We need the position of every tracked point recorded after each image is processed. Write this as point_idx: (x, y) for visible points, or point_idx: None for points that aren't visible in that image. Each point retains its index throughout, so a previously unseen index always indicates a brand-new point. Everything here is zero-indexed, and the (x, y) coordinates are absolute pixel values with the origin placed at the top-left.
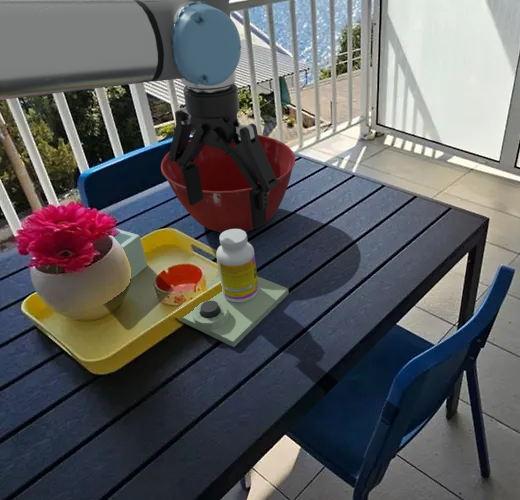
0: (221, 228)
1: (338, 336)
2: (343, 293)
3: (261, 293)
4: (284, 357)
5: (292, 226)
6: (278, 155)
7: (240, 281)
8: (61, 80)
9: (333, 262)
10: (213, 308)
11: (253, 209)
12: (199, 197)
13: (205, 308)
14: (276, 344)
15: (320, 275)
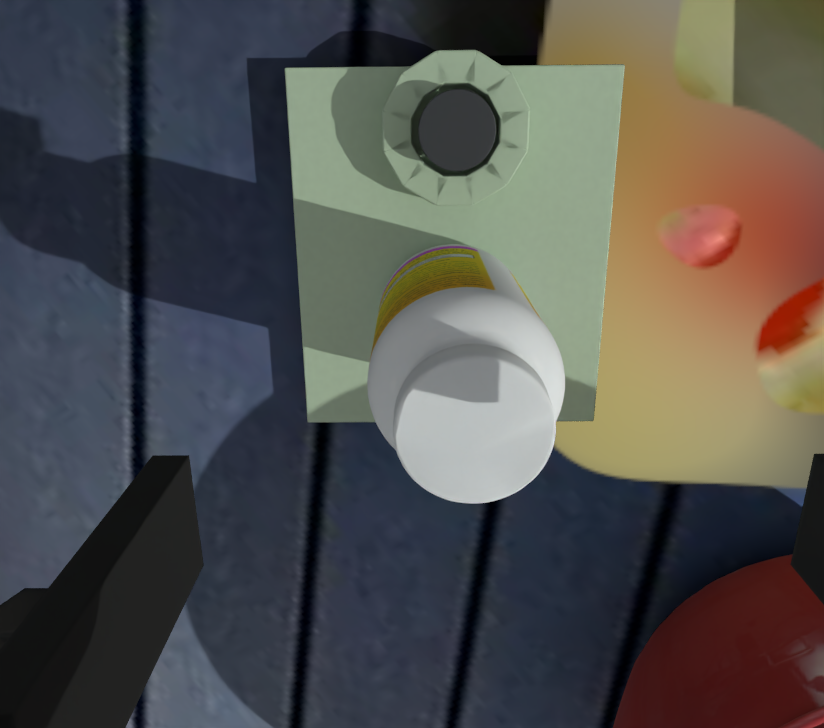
0: (761, 567)
1: (22, 323)
2: None
3: None
4: (101, 134)
5: (545, 713)
6: None
7: (394, 293)
8: None
9: (287, 621)
10: (430, 128)
11: (86, 559)
12: (816, 549)
13: (462, 109)
14: (170, 173)
15: (281, 546)
